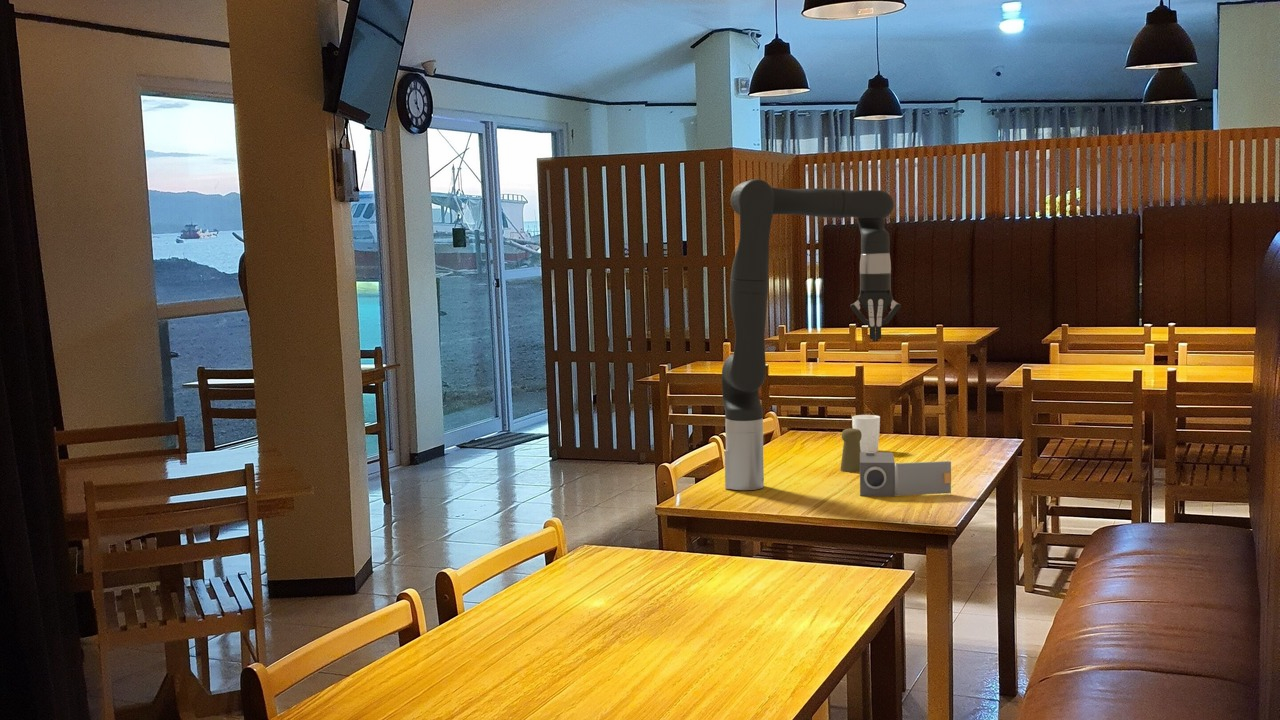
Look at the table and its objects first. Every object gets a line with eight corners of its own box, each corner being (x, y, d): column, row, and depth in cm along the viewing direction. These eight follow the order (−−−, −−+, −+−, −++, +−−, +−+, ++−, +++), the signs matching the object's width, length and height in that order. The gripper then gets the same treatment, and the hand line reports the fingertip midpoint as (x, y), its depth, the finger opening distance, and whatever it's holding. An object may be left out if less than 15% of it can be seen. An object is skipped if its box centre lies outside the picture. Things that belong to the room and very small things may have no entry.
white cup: (850, 453, 338) (850, 418, 337) (853, 448, 345) (853, 414, 344) (878, 454, 335) (878, 419, 334) (881, 449, 343) (881, 415, 342)
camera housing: (860, 496, 280) (860, 460, 279) (859, 483, 295) (859, 449, 294) (894, 497, 278) (894, 461, 278) (892, 484, 293) (892, 450, 292)
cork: (856, 473, 308) (856, 431, 307) (836, 471, 312) (835, 429, 311) (867, 469, 313) (867, 428, 312) (846, 467, 317) (846, 426, 316)
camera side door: (894, 494, 279) (894, 463, 279) (949, 492, 281) (949, 461, 280) (896, 496, 278) (896, 464, 277) (951, 493, 279) (952, 462, 278)
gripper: (848, 272, 292) (848, 342, 294) (903, 271, 290) (903, 342, 292) (848, 272, 300) (848, 340, 301) (901, 271, 297) (901, 340, 299)
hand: (875, 341), depth 296 cm, fingers closed
